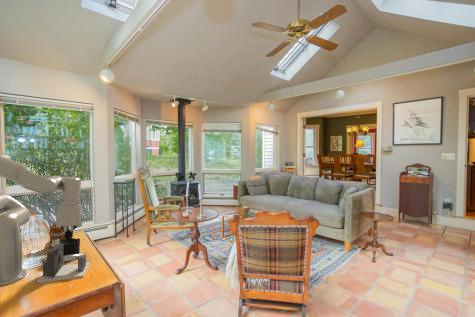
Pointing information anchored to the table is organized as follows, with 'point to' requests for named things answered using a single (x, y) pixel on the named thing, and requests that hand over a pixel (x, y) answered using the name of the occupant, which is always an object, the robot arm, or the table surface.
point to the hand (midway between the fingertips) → (68, 238)
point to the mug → (56, 234)
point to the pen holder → (70, 247)
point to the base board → (65, 273)
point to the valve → (54, 242)
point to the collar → (54, 260)
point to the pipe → (79, 257)
